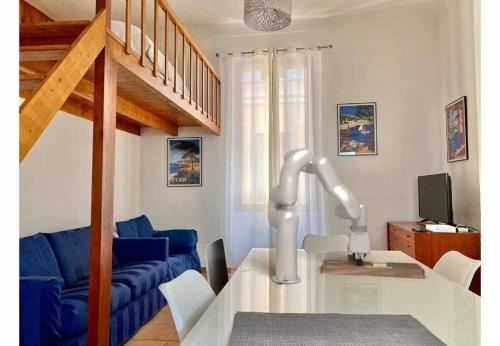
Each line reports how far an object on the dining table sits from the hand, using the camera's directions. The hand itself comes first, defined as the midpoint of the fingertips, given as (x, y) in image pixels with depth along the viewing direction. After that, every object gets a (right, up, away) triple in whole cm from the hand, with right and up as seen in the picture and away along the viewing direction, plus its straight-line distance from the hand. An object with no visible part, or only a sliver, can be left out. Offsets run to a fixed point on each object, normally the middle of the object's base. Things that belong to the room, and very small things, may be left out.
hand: (359, 266), depth 181 cm
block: (+9, -3, -2) cm, 10 cm away
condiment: (+4, -4, +22) cm, 22 cm away
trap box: (+5, -3, -1) cm, 6 cm away
